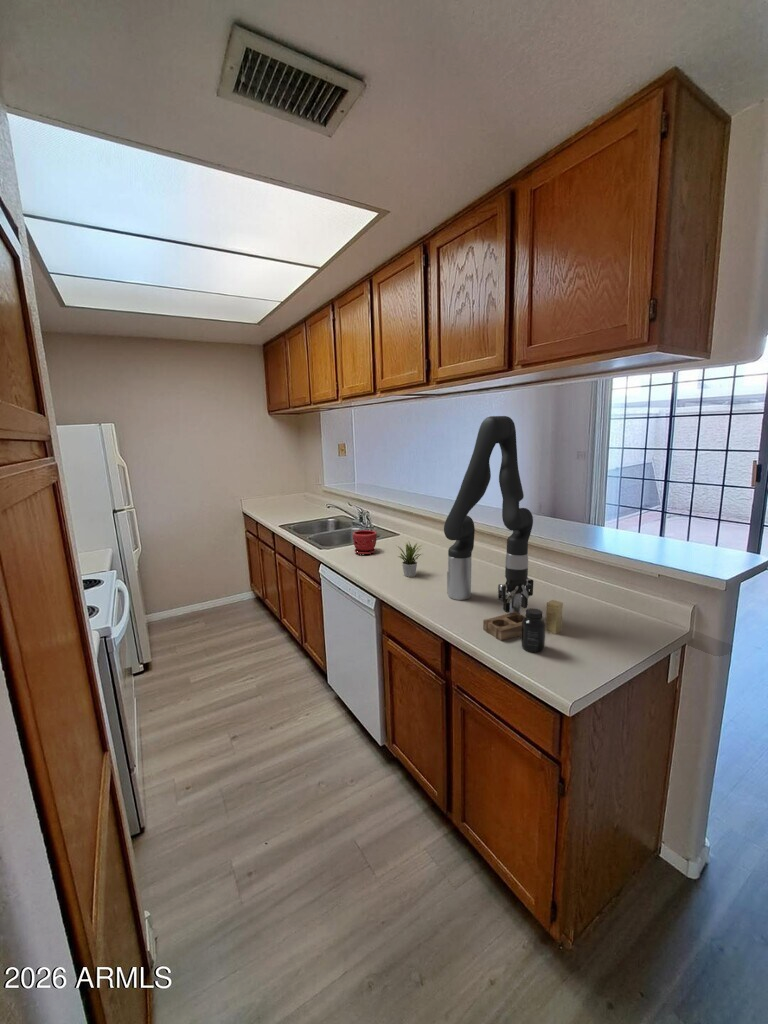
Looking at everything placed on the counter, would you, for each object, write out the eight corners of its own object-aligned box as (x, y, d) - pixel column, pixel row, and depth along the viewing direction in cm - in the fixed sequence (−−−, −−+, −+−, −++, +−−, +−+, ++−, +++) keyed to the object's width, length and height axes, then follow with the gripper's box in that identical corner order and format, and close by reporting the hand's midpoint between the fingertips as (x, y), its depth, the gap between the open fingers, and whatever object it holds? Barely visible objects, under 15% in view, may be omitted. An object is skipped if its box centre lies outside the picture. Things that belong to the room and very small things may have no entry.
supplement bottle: (549, 648, 131) (551, 612, 129) (535, 655, 128) (537, 618, 125) (530, 640, 137) (531, 605, 135) (516, 646, 133) (517, 610, 131)
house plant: (433, 576, 199) (433, 542, 196) (411, 583, 190) (410, 547, 187) (413, 568, 210) (413, 536, 207) (391, 575, 202) (390, 541, 199)
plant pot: (377, 556, 233) (376, 534, 231) (353, 556, 233) (352, 535, 231) (377, 549, 246) (376, 529, 244) (354, 550, 246) (353, 529, 243)
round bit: (507, 618, 153) (508, 591, 151) (515, 615, 155) (516, 589, 153) (514, 621, 150) (515, 595, 148) (522, 619, 152) (523, 593, 150)
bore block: (482, 629, 145) (482, 620, 144) (515, 621, 151) (515, 611, 150) (500, 641, 137) (500, 631, 136) (534, 631, 143) (534, 621, 142)
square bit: (545, 630, 143) (546, 602, 141) (551, 627, 145) (552, 599, 143) (555, 634, 140) (557, 605, 138) (561, 631, 143) (562, 602, 141)
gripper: (524, 559, 155) (523, 602, 158) (493, 565, 149) (492, 609, 152) (540, 565, 148) (538, 609, 151) (507, 571, 142) (506, 617, 145)
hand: (515, 609), depth 152 cm, fingers open, 7 cm apart
